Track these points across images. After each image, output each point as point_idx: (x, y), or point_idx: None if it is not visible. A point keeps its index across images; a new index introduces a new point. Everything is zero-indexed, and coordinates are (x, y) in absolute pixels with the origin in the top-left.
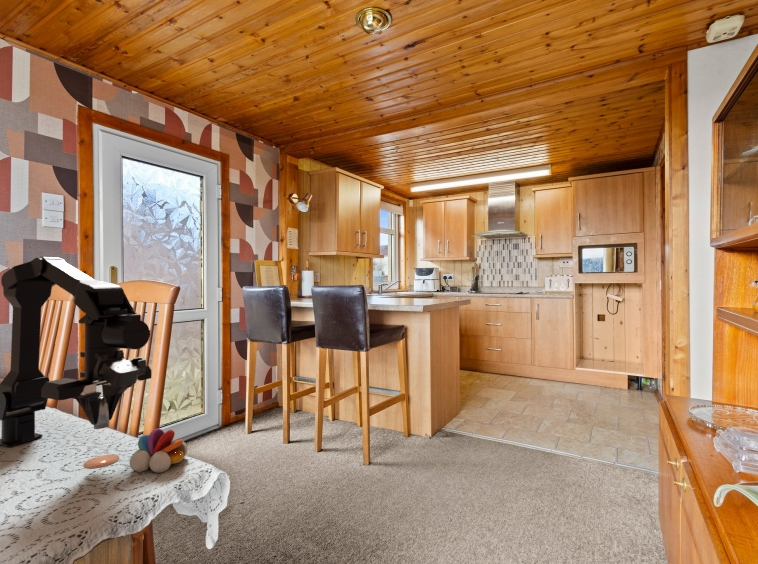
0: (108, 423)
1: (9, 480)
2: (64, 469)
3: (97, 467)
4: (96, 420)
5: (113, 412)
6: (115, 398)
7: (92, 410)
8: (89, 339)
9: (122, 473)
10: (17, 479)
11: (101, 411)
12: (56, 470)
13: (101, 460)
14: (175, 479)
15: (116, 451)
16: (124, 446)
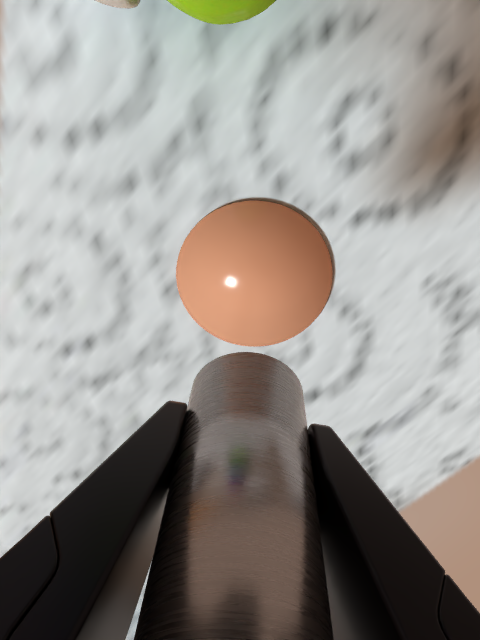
0: (223, 371)
1: (454, 465)
2: (354, 367)
3: (321, 239)
4: (325, 448)
5: (138, 439)
6: (56, 621)
7: (444, 574)
8: None
9: (373, 9)
10: (447, 449)
11: (295, 507)
12: (365, 388)
13: (250, 284)
14: None
15: (137, 303)
16: (78, 312)
